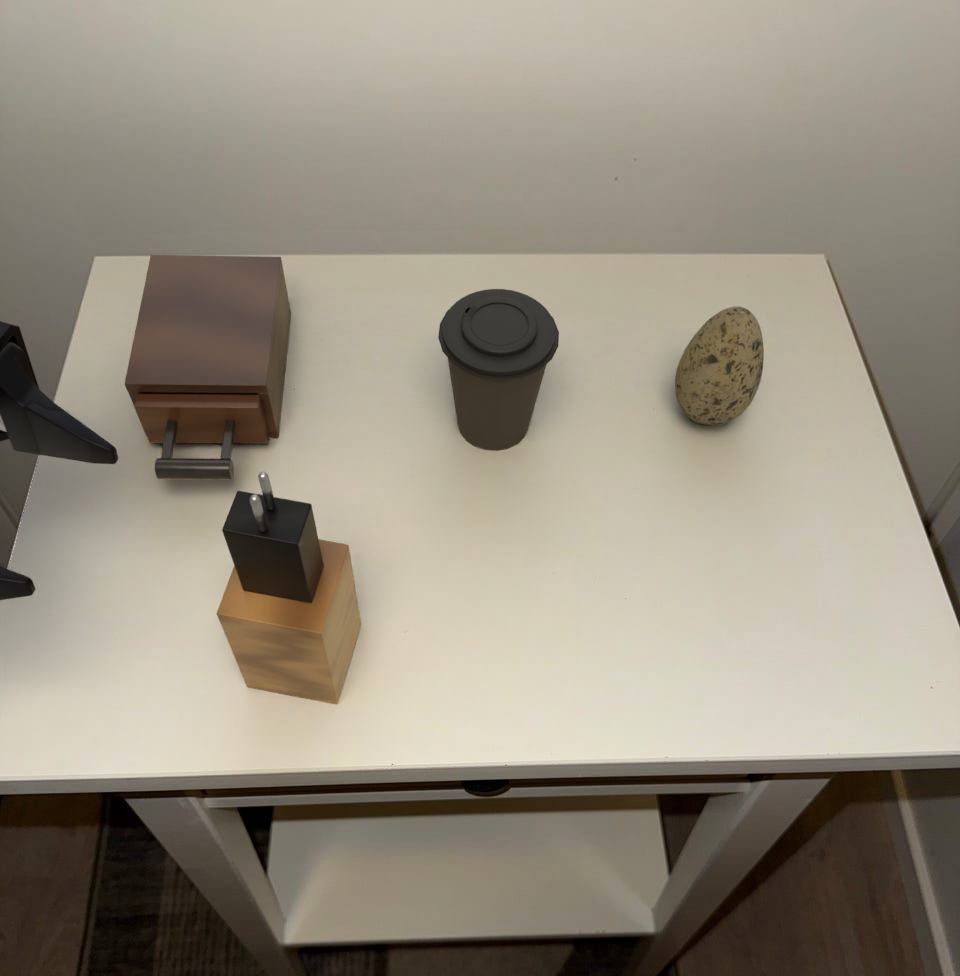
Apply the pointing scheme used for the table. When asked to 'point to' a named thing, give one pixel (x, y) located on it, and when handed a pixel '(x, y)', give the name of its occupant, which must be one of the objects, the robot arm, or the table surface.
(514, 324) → the coffee cup
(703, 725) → the table surface
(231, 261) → the cabinet
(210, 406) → the drawer
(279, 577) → the black wall charger
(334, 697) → the pedestal
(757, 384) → the decorative egg
